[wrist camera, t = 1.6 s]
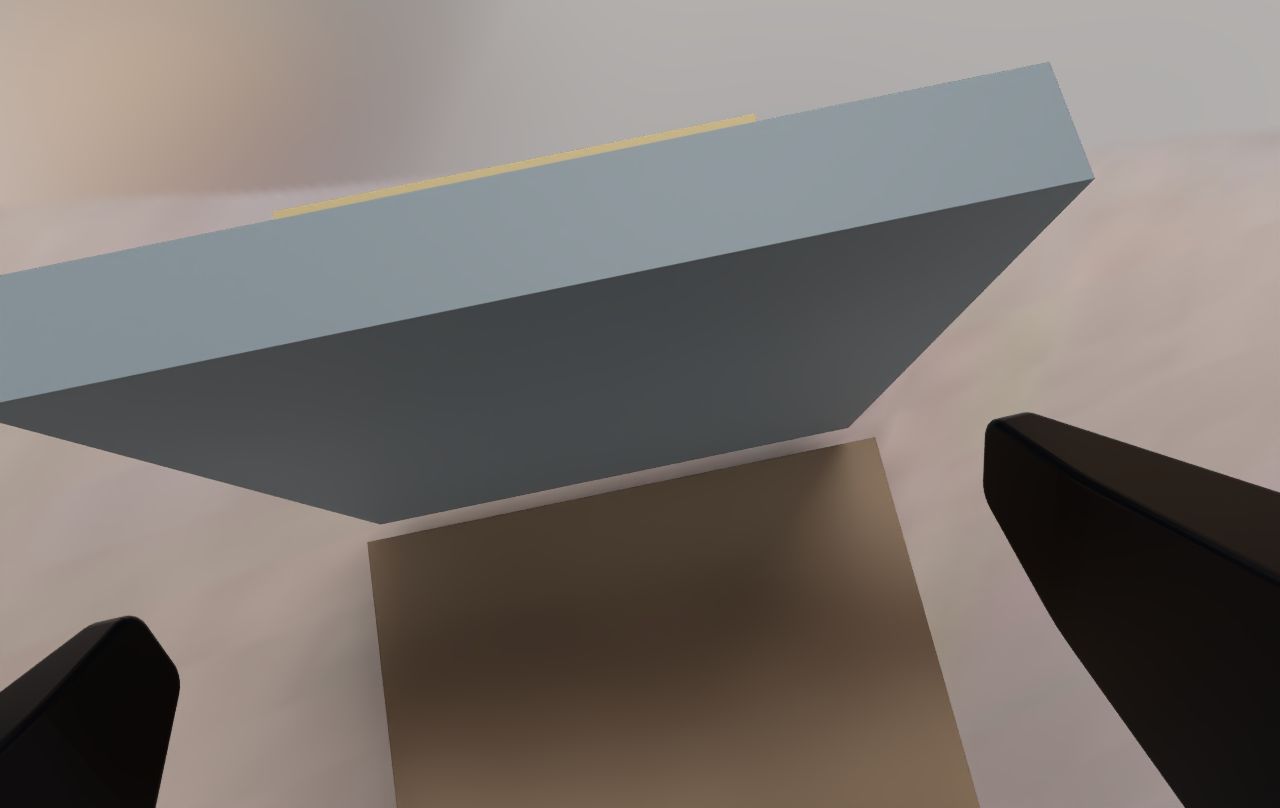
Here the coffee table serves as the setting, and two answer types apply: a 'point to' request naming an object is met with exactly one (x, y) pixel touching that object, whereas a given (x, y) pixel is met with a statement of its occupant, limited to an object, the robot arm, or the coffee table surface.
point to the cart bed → (671, 649)
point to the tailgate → (550, 305)
